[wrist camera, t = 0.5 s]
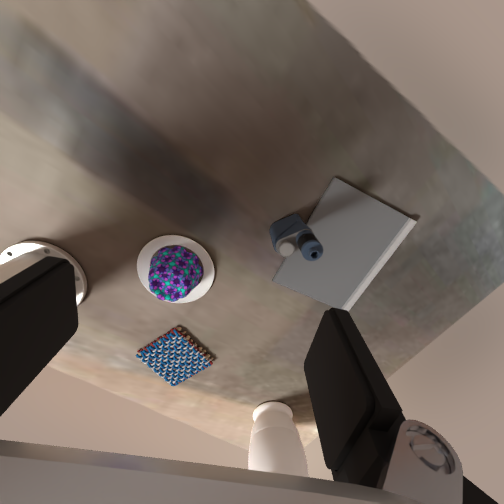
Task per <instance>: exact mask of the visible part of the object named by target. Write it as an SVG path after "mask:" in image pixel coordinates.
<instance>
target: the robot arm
mask: <svg viewBox="0 0 504 504" xmlns="http://www.w3.org/2000/svg"><path fill="white" fill-rule="evenodd" d="M86 292H87V280H86V276H85V274H84V271H83V270H82V268H81V266H80V265H79V263H78V262H77V261H76V260H75V259H74V258H73V257H72V256H71V255H69V254H68V253H67V252H65V251H64V250H62V249H60V248H59V247H57V246H54V245H52V244H49V243H45V242H42V241H24V242H20V243H17V244H15V245H13V246H10V247H9V248H7V249H6V250H4V252H3V253H2V254H1V255H0V416H1V415H2V414H3V413H4V412H5V411H6V410H7V409H8V407H9V406H10V405H11V404H12V403H13V402H14V401H15V399H16V398H17V397H18V396H19V395H20V394H21V393H22V392H23V391H24V389H25V388H26V387H27V386H28V385H29V384H30V383H31V382H32V381H33V380H34V378H35V377H36V376H37V375H38V374H39V373H40V372H41V370H42V369H43V368H44V367H45V366H46V365H47V364H48V363H49V362H50V361H51V359H52V358H53V357H54V356H55V355H56V354H57V353H58V352H59V350H60V349H61V348H62V347H63V346H64V345H65V344H66V343H67V342H68V340H69V339H70V338H71V337H72V336H73V335H74V334H75V332H76V330H77V328H78V312H77V306H78V305H79V304H80V303H81V302H82V300H83V299H84V297H85V295H86ZM304 371H305V376H306V380H307V384H308V389H309V393H310V398H311V402H312V407H313V411H314V416H315V420H316V424H317V429H318V433H319V438H320V442H321V447H322V451H323V456H324V460H325V464H326V466H327V468H328V469H331V471H332V475H333V479H334V481H330V480H323V479H316V478H310V477H303V476H296V475H288V474H280V473H272V472H264V471H256V470H248V469H240V468H231V467H224V466H217V465H208V464H201V463H193V462H184V461H176V460H167V459H160V458H151V457H142V456H135V455H126V454H118V453H109V452H101V451H93V450H84V449H76V448H67V447H57V446H50V445H41V444H32V443H24V442H15V441H6V440H0V504H498V503H497V502H496V501H494V500H493V499H492V498H491V497H489V496H488V495H487V494H485V493H484V492H483V491H482V490H481V489H479V488H478V487H477V486H476V485H474V484H473V483H472V482H471V481H469V480H468V479H467V478H465V477H464V476H463V470H462V464H461V462H460V459H459V457H458V455H457V453H456V452H455V450H454V449H453V448H452V446H451V445H450V444H449V443H448V441H446V439H445V438H444V437H443V436H442V435H441V434H439V433H438V432H437V431H436V430H434V429H433V428H432V427H430V426H428V425H426V424H424V423H422V422H419V421H416V420H406V419H405V417H404V416H403V414H402V409H401V407H400V405H399V403H398V401H397V399H396V398H395V396H394V394H393V392H392V391H391V389H390V387H389V385H388V383H387V381H386V379H385V378H384V376H383V374H382V372H381V370H380V369H379V367H378V365H377V363H376V361H375V359H374V358H373V356H372V354H371V352H370V350H369V349H368V347H367V345H366V343H365V341H364V339H363V338H362V336H361V334H360V332H359V330H358V329H357V327H356V325H355V323H354V321H353V320H352V318H351V316H350V314H349V312H348V311H347V310H343V309H338V308H331V309H330V310H329V311H328V310H326V311H325V312H324V315H323V317H322V319H321V322H320V324H319V327H318V329H317V332H316V334H315V337H314V339H313V342H312V344H311V347H310V349H309V352H308V354H307V356H306V359H305V362H304Z"/></svg>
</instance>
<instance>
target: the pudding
mask: <svg viewBox="0 0 504 504" xmlns="http://www.w3.org/2000/svg"><path fill="white" fill-rule="evenodd" d="M169 245H179V246H175V247H174V248H172V249H170V248H167V247H165V246H169ZM180 246H183V247H186V248H188V249H190V250H192V251H193V252H194V253H195V254H196V255H197V256H198V257H199V258H200V260H201V262H202V264H203V269H204V274H203V278H202V280H201V282H200V283H199V278H200V277H201V275H202V273H203V270H202V267H201V266H200V265H199V264H198V261H199V259H198V257H197V256H196V255H195V254H194V253H189V252H187V251H186V249H185V248H183V247H180ZM162 247H165V248H162ZM160 248H162V249H161V250H159V249H160ZM157 250H159V251H158V256H155V257H153V258H152V256H153V254H154V253H155V252H156V251H157ZM151 258H152V260H151ZM150 260H151V264H150ZM137 272H138V276H139V278H140V280H141V282H142V284H143V285H144V286H145V288H146V289H147V290H148V291H149V292H151V293H152V294H153V295H154V296H156V297H157V298H159V299H160V300H165V301H168V302H172V303H186V302H191V301H194V300H196V299H198V298H200V297H202V296H203V295H204V294H205V293H206V292H207V291H208V290H209V289H210V287H211V285H212V283H213V280H214V265H213V262H212V260H211V258H210V256H209V254H208V253H207V252H206V250H205V249H204V248H203V247H202V246H201V245H199V244H198V243H196V242H195V241H193V240H191V239H189V238H186V237H183V236H177V235H166V236H161V237H158V238H155V239H153V240H152V241H150V242H148V243H147V244H146V245H145V246H144V247H143V249H142V250H141V251H140V254H139V256H138V260H137ZM198 283H199V285H198V286H197V284H198ZM196 286H197V287H196Z"/></svg>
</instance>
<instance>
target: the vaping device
mask: <svg viewBox="0 0 504 504" xmlns="http://www.w3.org/2000/svg"><path fill="white" fill-rule="evenodd" d="M270 235H271V239H272V243H273V246H274V249H275V251H276V252H277V253H278V254H280V255H281V256H282V257H285V258H287V257H290V256H292V255H293V254H294V253H295V252H297V251H301V253H302V255H303V257H304V258H305V259H306V260H308V261H315V260H318V259H319V258H320V257H321V256H322V254H323V246H322V245H321V243H320V242H319V241H318V239H317V238H316V237H315V235H314V233H313V231H312V229H310V228H309V227H308V226H307V225H306V224H304V222H303V221H302V219H301V218H300V217H299V215H298V214H293V215H291V216H288V217H286V218H284V219H281V220H279V221H277V222H274V223H273V224H272V225H271V227H270Z"/></svg>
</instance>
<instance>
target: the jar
mask: <svg viewBox="0 0 504 504" xmlns="http://www.w3.org/2000/svg"><path fill="white" fill-rule="evenodd" d="M292 417H293V413H292V410H291V409H290V407H288V406H287V405H286V404H283V403H280V402H266V403H263V404H261V405H259V406H258V407H257V408H256V409H255V410H254V412H253V420H254V425H253V428H252V432H251V439H250V447H249V456H248V468H249V470H256V471H264V472H272V473H280V474H288V475H296V476H303V477H308V467H307V461H306V455H305V452H304V448H303V445H302V442H301V440H300V436H299V433H298V430H297V428H296V425H295V424H294V422H293V420H292Z"/></svg>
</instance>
